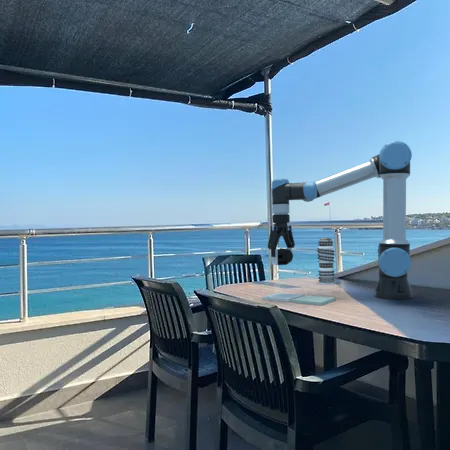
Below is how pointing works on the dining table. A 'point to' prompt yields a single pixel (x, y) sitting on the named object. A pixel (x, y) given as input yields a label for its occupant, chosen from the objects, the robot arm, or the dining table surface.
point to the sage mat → (313, 300)
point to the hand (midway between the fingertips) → (282, 263)
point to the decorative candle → (326, 261)
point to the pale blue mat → (282, 297)
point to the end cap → (284, 256)
